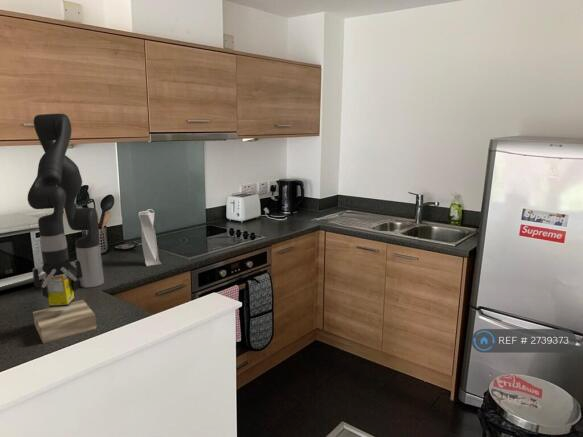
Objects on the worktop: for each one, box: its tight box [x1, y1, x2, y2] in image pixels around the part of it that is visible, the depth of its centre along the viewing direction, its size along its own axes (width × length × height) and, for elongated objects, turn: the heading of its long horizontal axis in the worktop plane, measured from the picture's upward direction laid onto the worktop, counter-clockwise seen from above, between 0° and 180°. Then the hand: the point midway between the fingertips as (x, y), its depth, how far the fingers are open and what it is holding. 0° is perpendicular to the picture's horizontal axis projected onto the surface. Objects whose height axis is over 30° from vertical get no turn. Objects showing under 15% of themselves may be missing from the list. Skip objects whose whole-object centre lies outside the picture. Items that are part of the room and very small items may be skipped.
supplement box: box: [45, 269, 75, 308], centre depth 146 cm, size 6×6×11 cm
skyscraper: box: [138, 208, 162, 267], centre depth 210 cm, size 8×8×28 cm
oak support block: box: [32, 299, 98, 344], centre depth 148 cm, size 16×16×5 cm
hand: (60, 293), depth 145 cm, fingers closed on supplement box, 8 cm apart
